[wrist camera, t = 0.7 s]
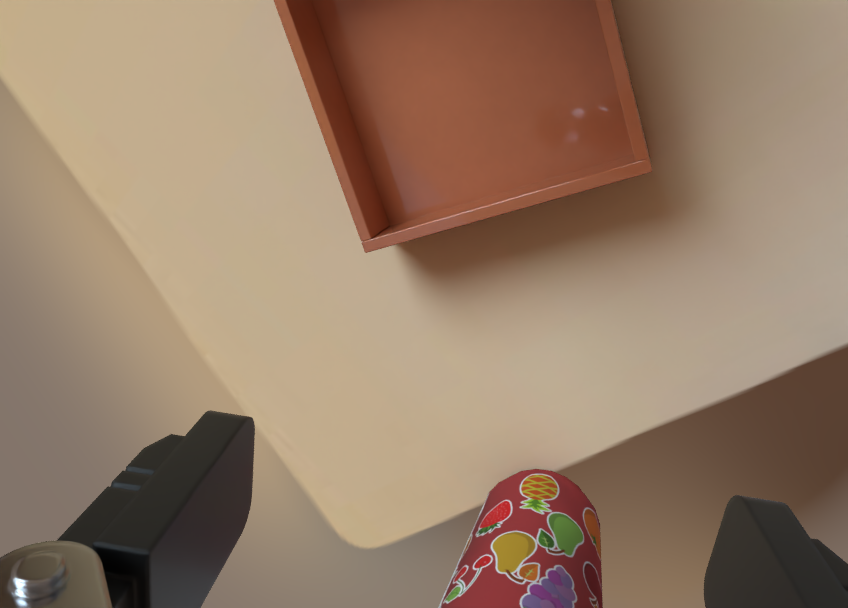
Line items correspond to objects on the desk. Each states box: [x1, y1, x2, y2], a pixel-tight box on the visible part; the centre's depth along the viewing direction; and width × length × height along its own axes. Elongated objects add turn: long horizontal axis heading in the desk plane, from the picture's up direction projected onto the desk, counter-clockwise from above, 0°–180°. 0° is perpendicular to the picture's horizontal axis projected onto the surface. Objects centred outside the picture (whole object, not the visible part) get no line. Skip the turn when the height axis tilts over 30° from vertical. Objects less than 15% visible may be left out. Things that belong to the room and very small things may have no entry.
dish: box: [274, 0, 652, 253], centre depth 32 cm, size 14×14×4 cm
